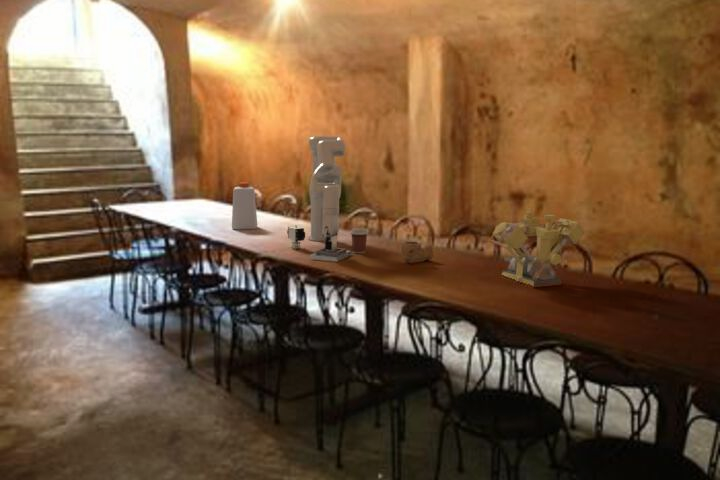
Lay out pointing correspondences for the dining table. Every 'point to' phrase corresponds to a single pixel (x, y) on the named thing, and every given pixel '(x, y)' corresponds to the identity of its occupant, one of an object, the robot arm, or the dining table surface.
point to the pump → (333, 243)
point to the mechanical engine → (547, 246)
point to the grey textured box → (416, 251)
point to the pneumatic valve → (296, 235)
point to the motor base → (330, 255)
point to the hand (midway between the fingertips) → (331, 248)
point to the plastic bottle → (244, 208)
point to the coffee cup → (359, 239)
